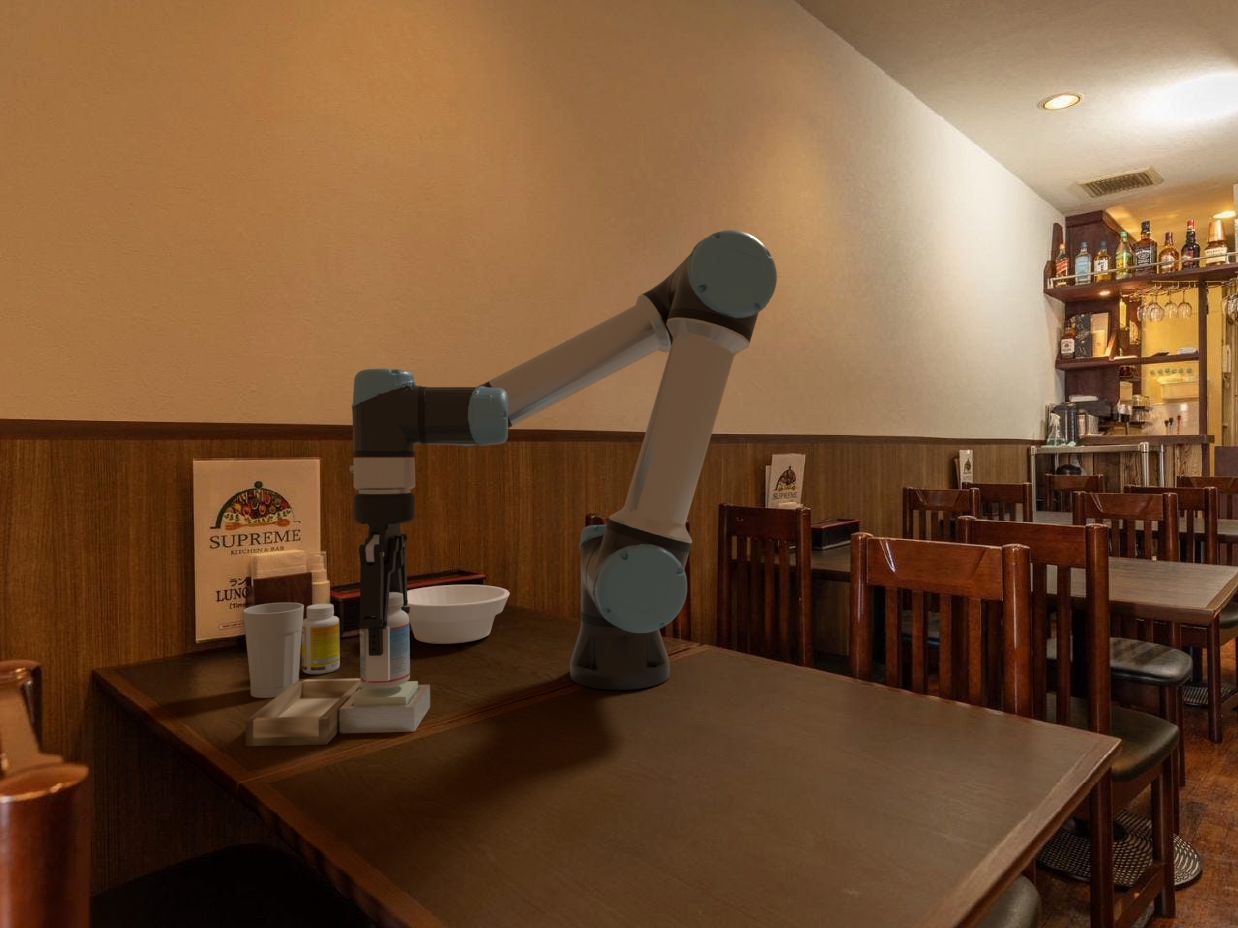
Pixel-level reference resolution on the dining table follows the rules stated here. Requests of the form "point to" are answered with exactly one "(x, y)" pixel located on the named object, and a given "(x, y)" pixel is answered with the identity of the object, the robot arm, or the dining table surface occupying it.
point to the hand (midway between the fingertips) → (385, 671)
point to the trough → (301, 714)
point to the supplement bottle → (320, 640)
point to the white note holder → (385, 714)
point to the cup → (273, 646)
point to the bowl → (454, 612)
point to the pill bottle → (391, 646)
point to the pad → (387, 695)
